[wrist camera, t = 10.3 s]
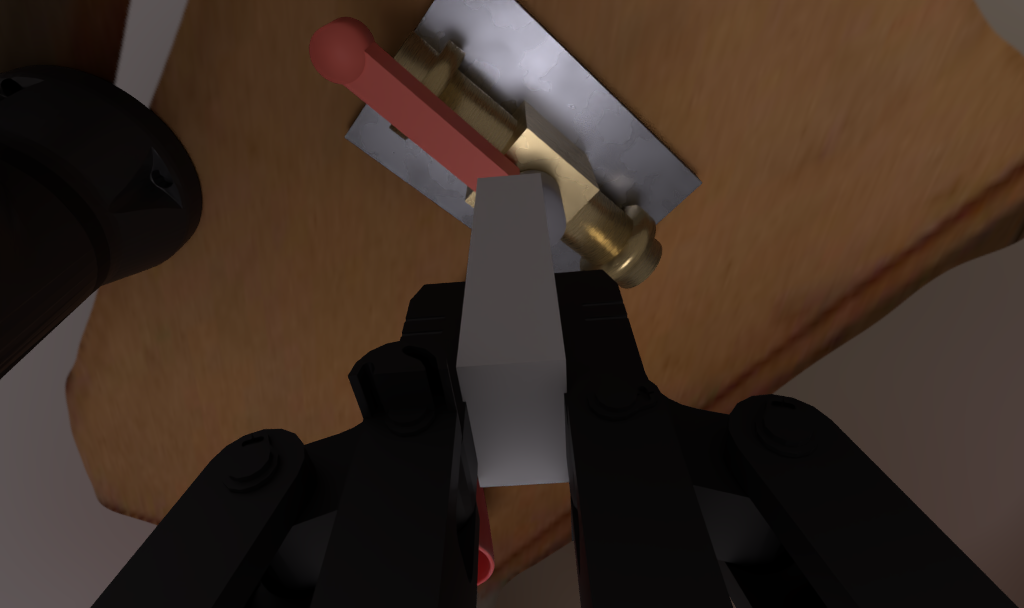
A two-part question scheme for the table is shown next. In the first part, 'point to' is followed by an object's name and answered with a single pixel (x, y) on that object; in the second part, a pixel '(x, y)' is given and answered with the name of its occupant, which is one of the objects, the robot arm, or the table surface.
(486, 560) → the flower pot
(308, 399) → the table surface
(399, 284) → the table surface
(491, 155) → the lever
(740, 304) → the table surface
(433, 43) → the valve
